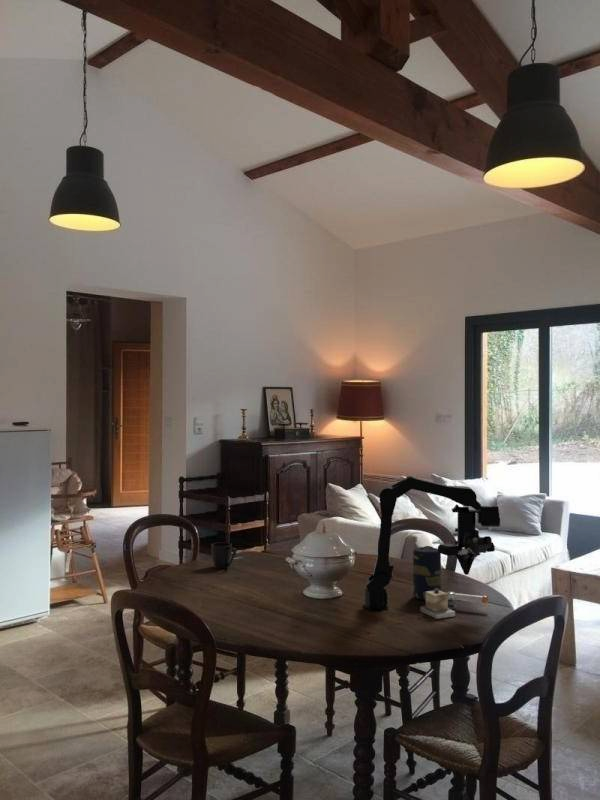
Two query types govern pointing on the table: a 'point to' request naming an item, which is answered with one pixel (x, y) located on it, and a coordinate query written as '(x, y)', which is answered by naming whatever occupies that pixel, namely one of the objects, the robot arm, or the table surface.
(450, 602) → the grey metal flanged disc
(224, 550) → the mug
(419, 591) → the canister
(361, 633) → the table surface
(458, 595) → the lever
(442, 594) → the block
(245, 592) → the table surface
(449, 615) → the plate
